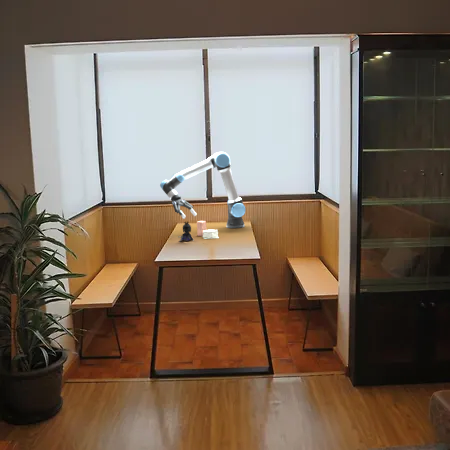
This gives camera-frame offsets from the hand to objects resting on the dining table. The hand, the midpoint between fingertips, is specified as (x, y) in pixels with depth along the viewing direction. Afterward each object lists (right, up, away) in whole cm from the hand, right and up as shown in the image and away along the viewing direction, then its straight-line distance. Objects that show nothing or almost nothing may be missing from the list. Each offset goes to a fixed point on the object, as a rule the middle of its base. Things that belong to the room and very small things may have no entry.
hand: (190, 216), depth 418 cm
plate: (+16, -17, -14) cm, 27 cm away
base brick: (+16, -16, -14) cm, 26 cm away
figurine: (-1, -19, -20) cm, 28 cm away
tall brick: (+9, -16, -4) cm, 19 cm away
